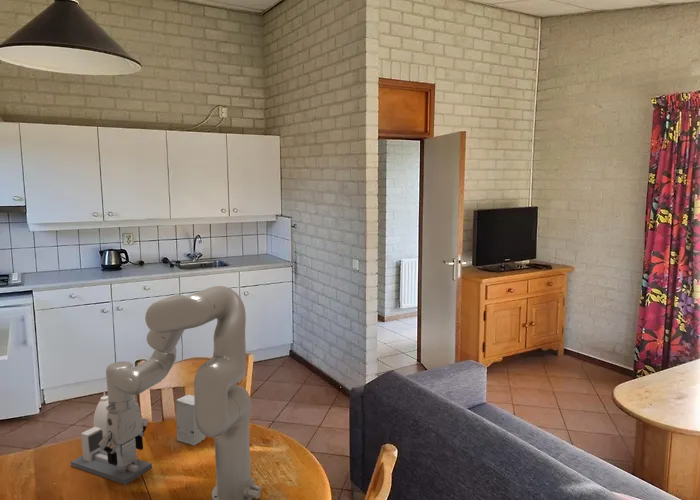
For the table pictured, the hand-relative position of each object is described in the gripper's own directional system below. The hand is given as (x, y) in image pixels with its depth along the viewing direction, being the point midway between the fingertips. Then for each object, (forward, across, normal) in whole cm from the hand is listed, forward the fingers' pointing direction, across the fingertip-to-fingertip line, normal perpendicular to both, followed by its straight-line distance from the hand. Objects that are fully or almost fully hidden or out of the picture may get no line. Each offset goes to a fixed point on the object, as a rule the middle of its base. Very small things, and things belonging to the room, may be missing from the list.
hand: (126, 456), depth 161 cm
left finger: (+4, 0, 0) cm, 4 cm away
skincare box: (+6, +24, -4) cm, 25 cm away
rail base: (+5, 0, +7) cm, 9 cm away
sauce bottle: (+6, +12, +23) cm, 27 cm away
